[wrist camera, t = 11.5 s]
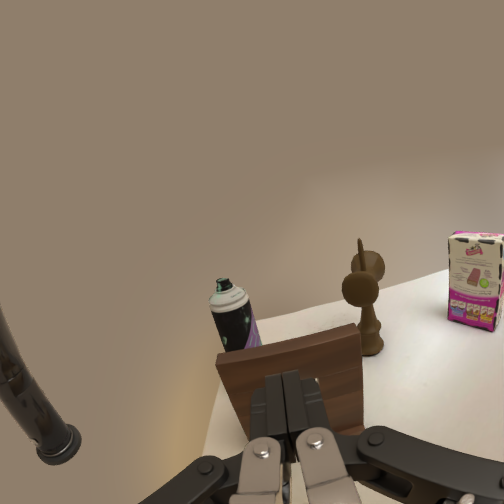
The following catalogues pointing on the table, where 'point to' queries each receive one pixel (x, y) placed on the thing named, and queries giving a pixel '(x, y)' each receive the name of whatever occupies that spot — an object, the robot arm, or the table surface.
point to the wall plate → (302, 374)
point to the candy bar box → (476, 278)
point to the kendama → (365, 296)
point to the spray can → (234, 317)
